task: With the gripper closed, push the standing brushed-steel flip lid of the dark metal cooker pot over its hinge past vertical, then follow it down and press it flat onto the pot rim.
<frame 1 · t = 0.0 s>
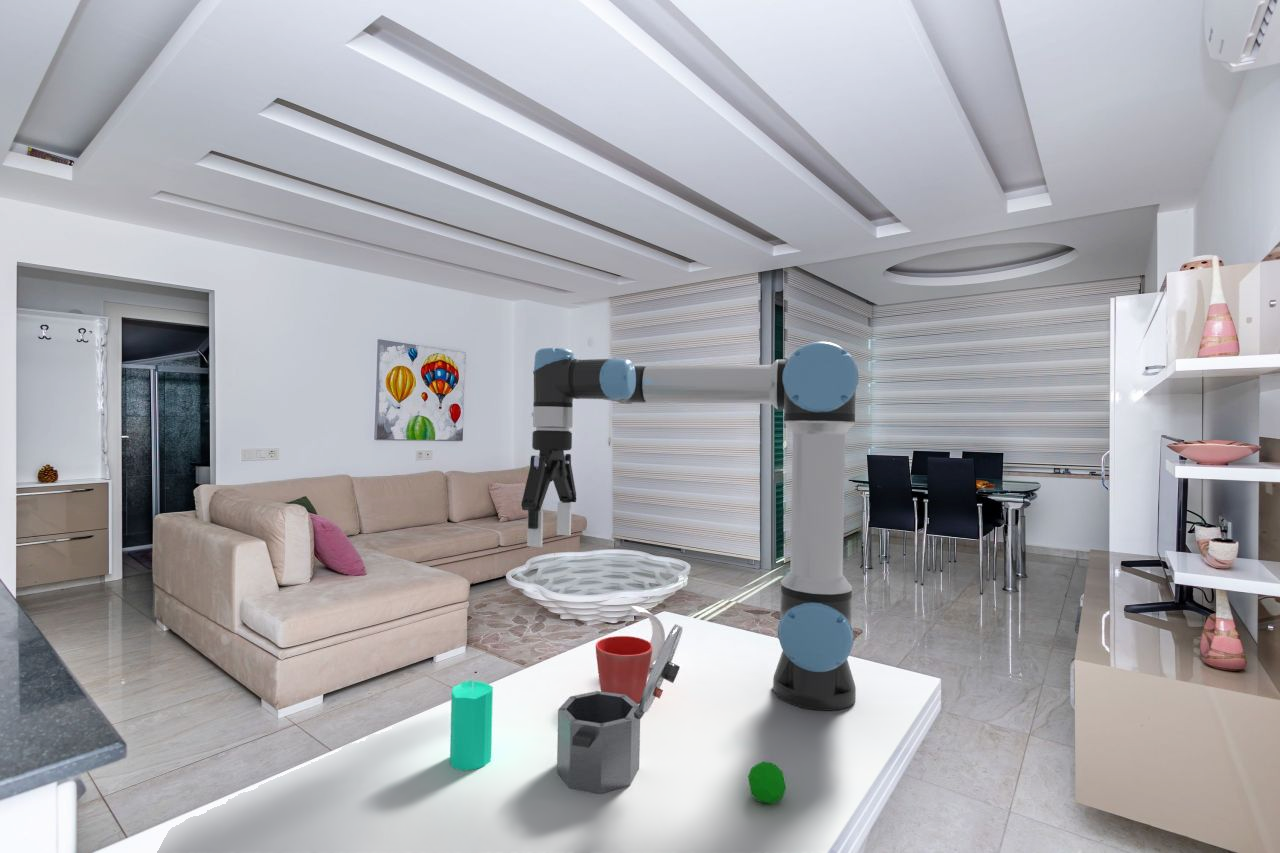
hand: (550, 540, 120), 28 cm above the table, fingers open, 13 cm apart
lid: (664, 672, 88), point 15 cm above the table, hinge at 110.0°
candle: (470, 760, 93), on the table
pot: (598, 770, 91), on the table
polyhedron: (766, 801, 84), on the table
headphone stand: (646, 665, 132), on the table
flower pot: (623, 698, 116), on the table
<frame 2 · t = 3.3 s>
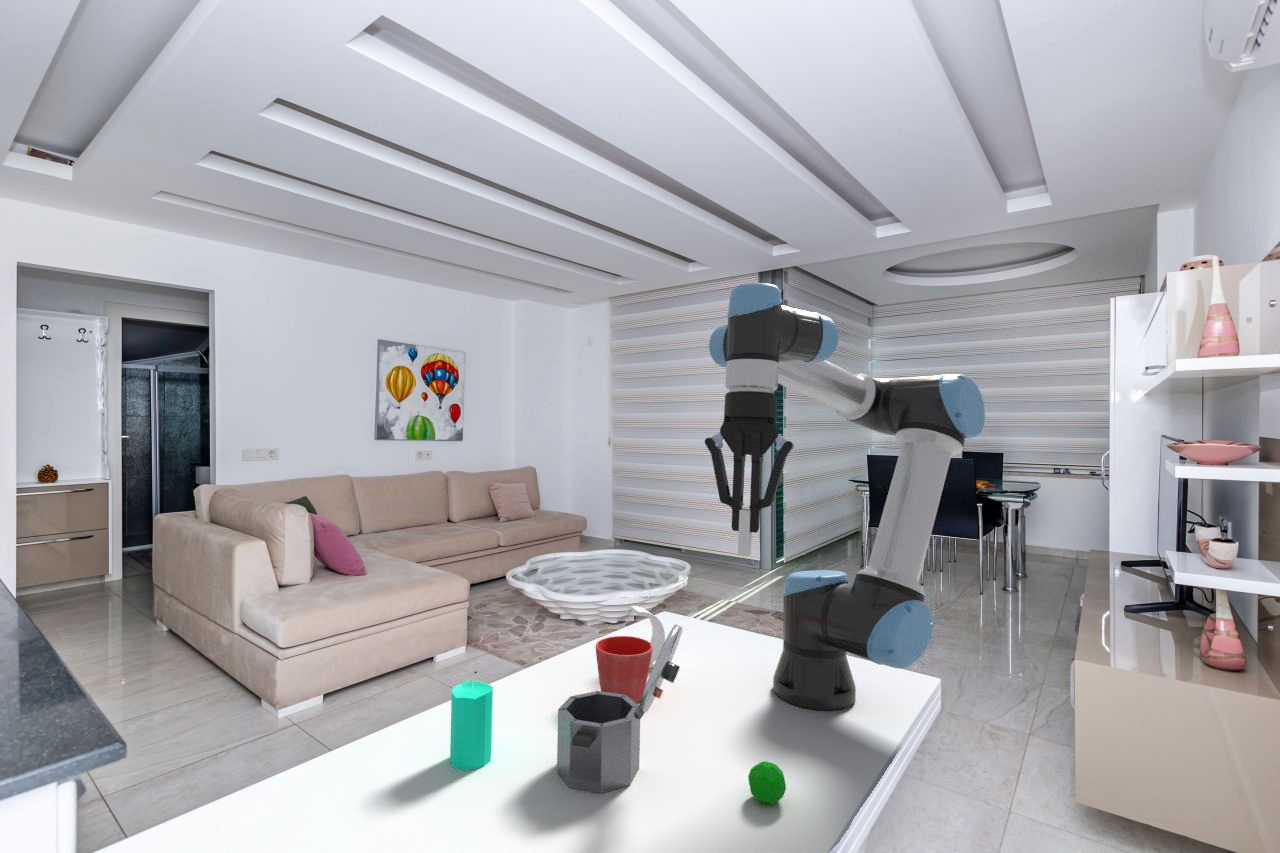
hand: (744, 554, 90), 32 cm above the table, fingers closed
nothing on the table moved.
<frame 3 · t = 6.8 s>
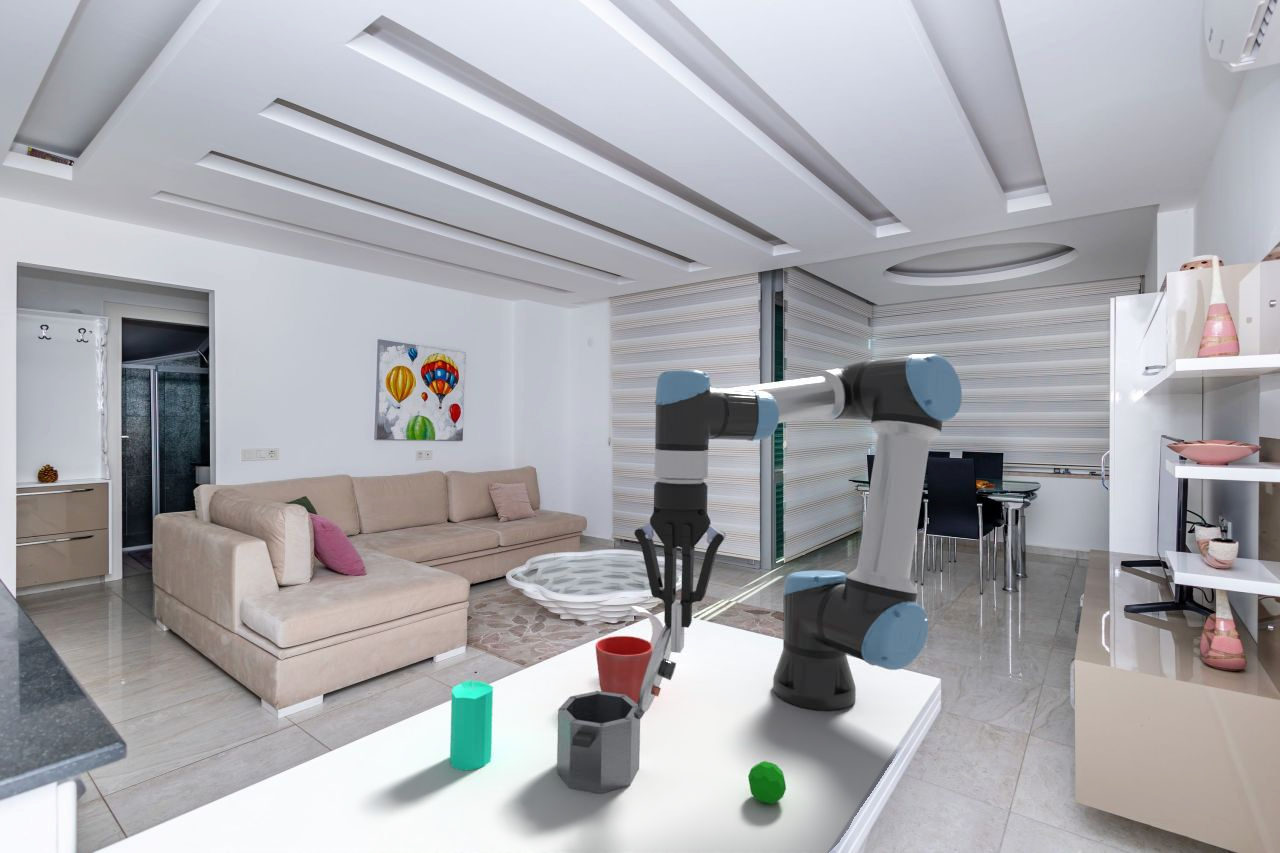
hand: (677, 649, 88), 19 cm above the table, fingers closed
lid: (661, 670, 88), point 16 cm above the table, hinge at 104.9°, touching gripper
everything else where it was.
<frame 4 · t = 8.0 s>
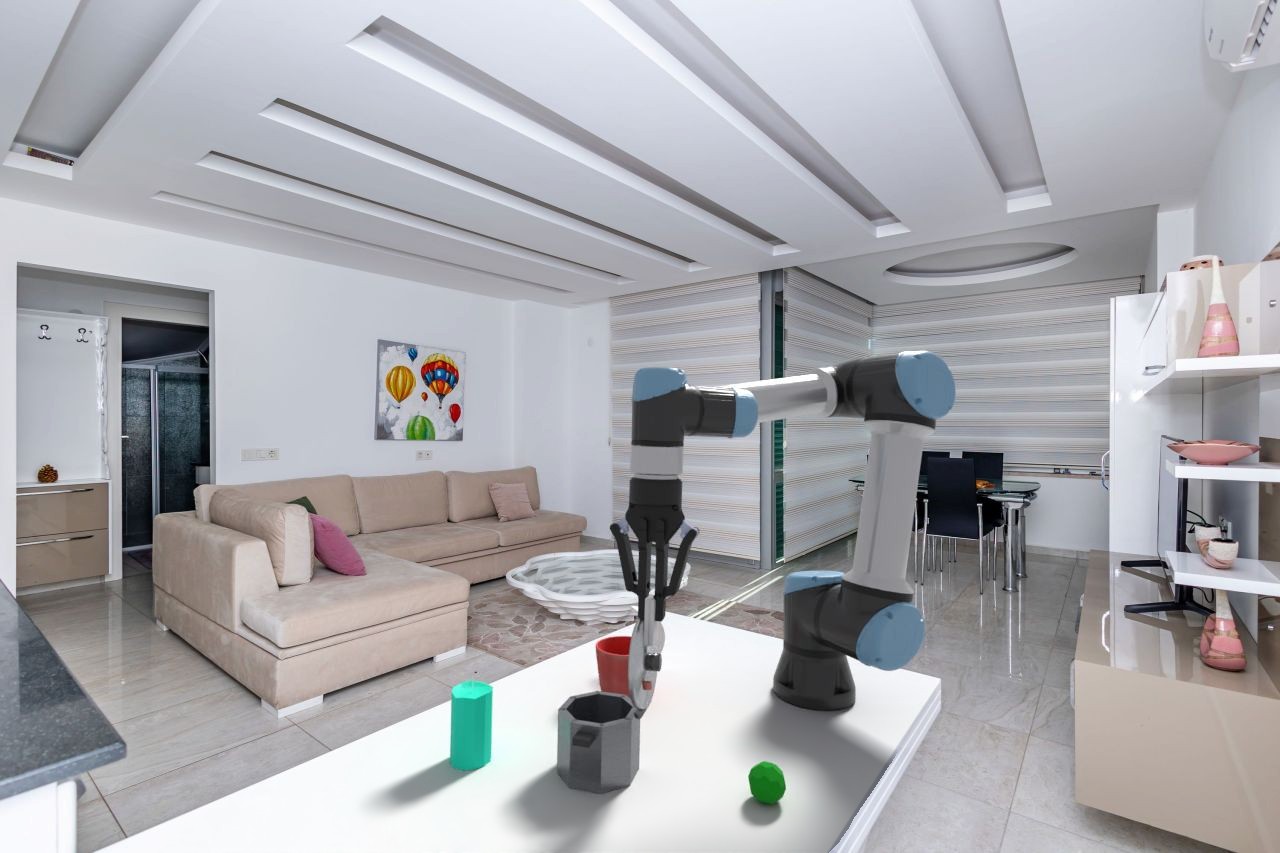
hand: (650, 642, 89), 19 cm above the table, fingers closed
lid: (648, 664, 89), point 16 cm above the table, hinge at 86.8°, touching gripper
everything else where it was.
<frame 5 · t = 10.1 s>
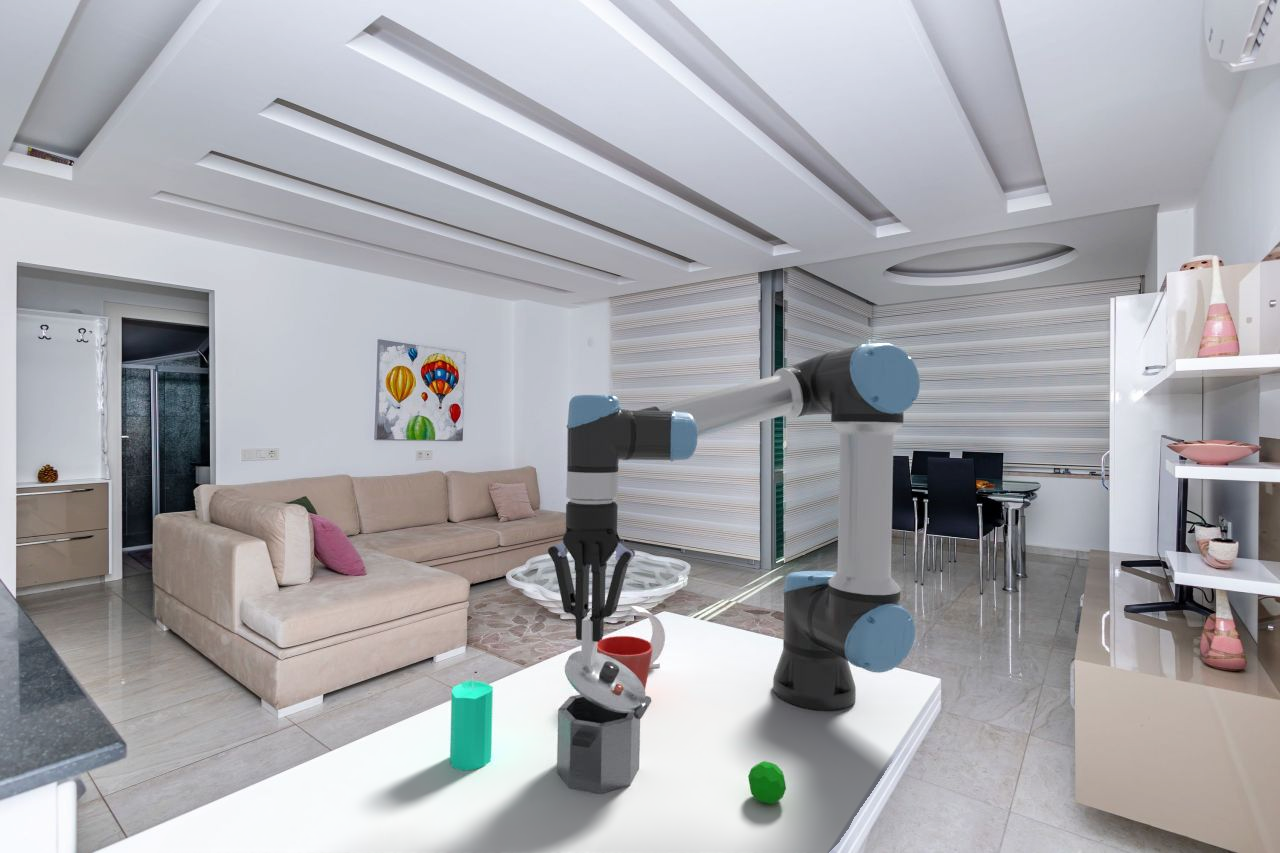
hand: (589, 662, 91), 15 cm above the table, fingers closed
lid: (609, 678, 90), point 14 cm above the table, hinge at 25.1°, touching gripper
everything else where it was.
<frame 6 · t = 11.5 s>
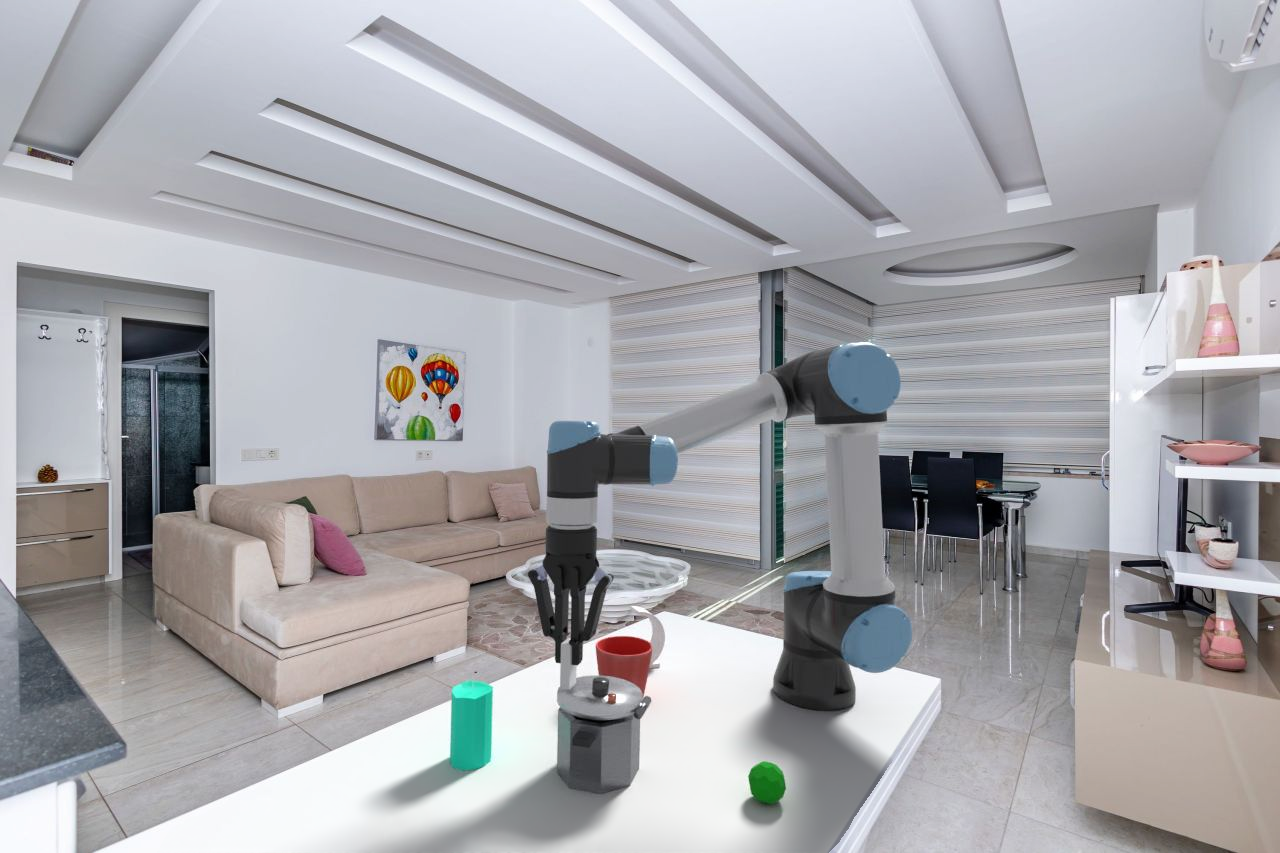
hand: (568, 685, 92), 12 cm above the table, fingers closed
lid: (603, 692, 91), point 11 cm above the table, hinge at 2.5°, touching gripper
everything else where it was.
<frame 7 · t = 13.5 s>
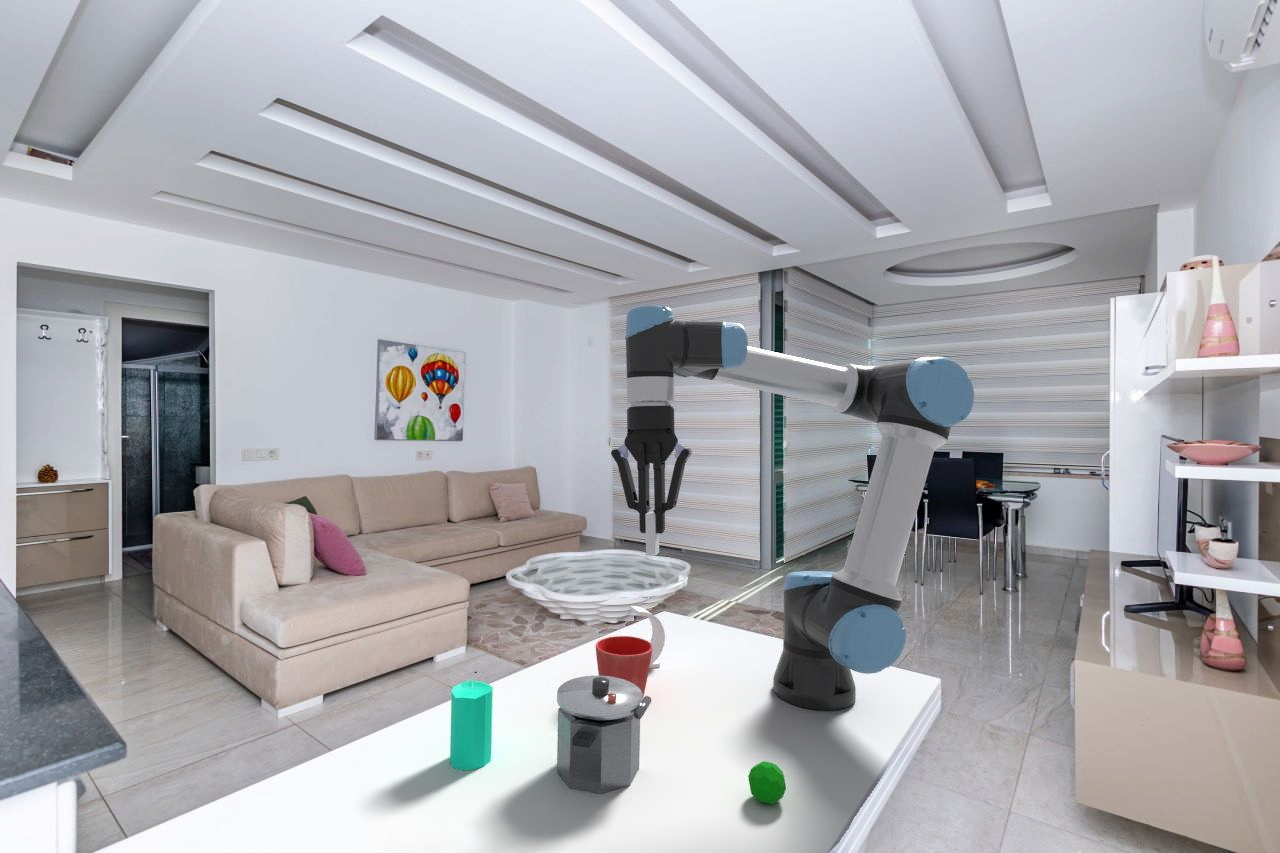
hand: (652, 553, 99), 30 cm above the table, fingers closed
lid: (603, 692, 91), point 11 cm above the table, hinge at 2.5°
everything else where it was.
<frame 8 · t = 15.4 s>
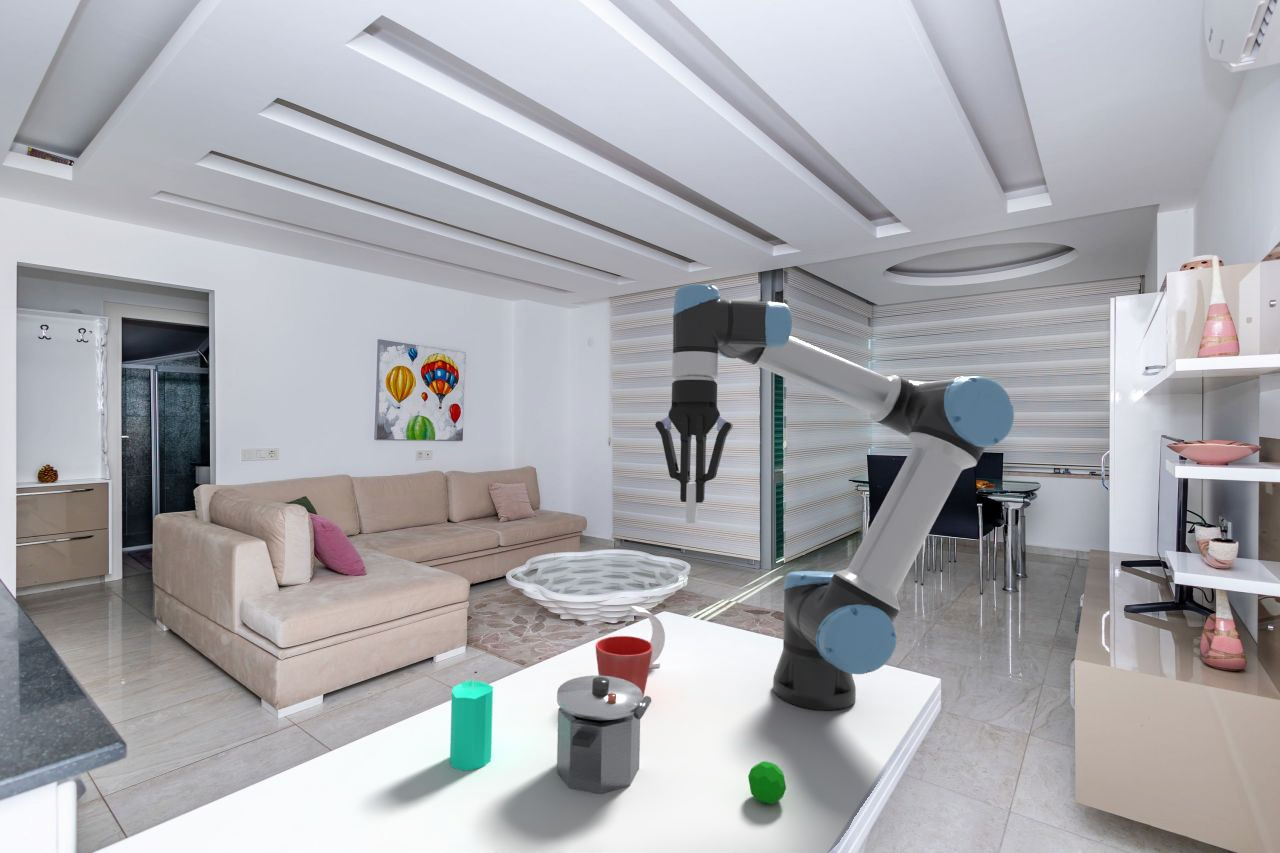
hand: (691, 522, 104), 34 cm above the table, fingers closed
nothing on the table moved.
at the end: lid at +2° (first picture: +110°) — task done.
